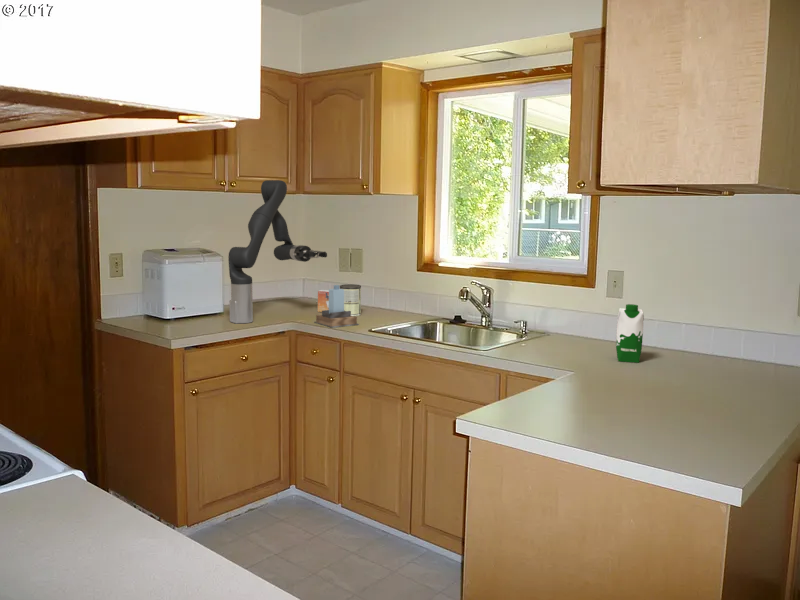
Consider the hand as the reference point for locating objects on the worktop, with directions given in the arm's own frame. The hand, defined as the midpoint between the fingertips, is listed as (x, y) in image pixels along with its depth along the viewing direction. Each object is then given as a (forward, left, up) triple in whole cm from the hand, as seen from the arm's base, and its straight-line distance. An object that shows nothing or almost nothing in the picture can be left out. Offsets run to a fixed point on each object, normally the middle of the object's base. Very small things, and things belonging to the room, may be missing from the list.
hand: (318, 255), depth 316 cm
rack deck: (0, -16, -29) cm, 33 cm away
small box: (+14, +15, -30) cm, 36 cm away
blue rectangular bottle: (0, -16, -26) cm, 30 cm away
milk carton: (+49, -132, -30) cm, 144 cm away
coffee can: (+19, +2, -30) cm, 35 cm away
